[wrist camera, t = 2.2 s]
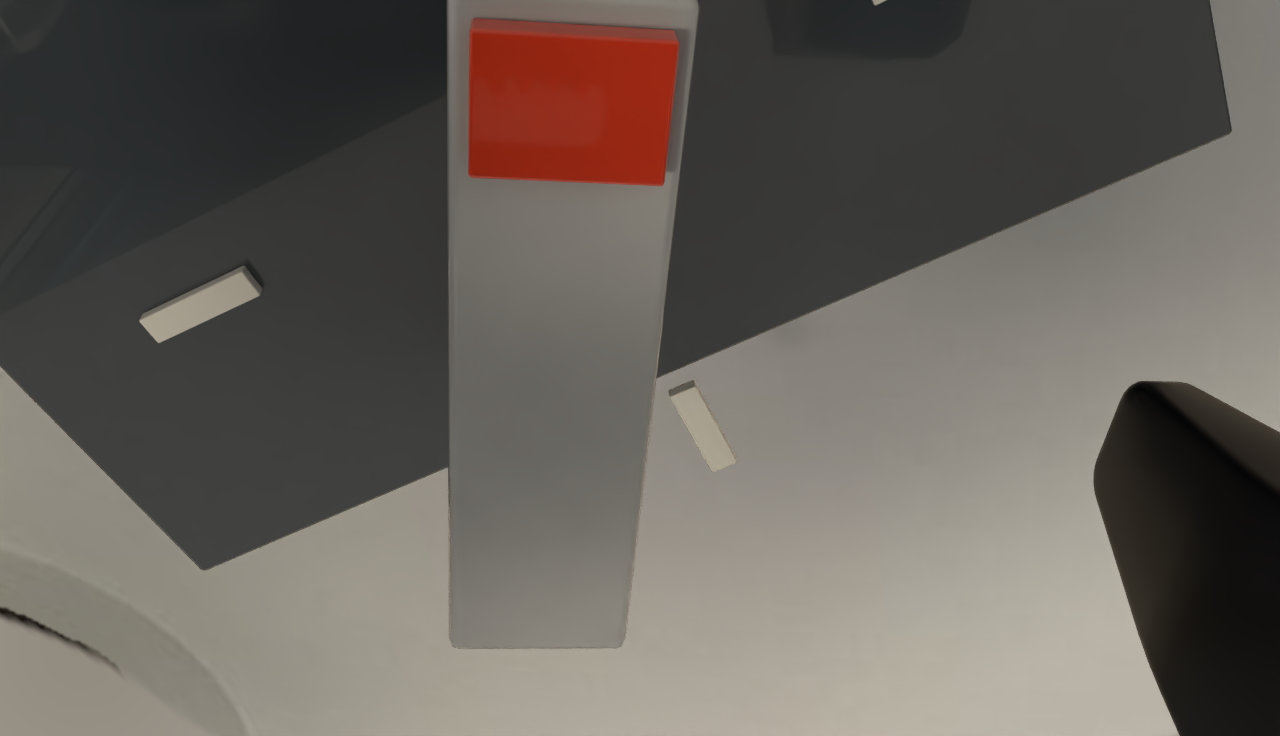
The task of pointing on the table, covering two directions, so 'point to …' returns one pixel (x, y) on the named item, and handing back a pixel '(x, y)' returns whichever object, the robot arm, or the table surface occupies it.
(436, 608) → the table surface
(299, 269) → the dark grey flat block
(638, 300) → the grey and red block
